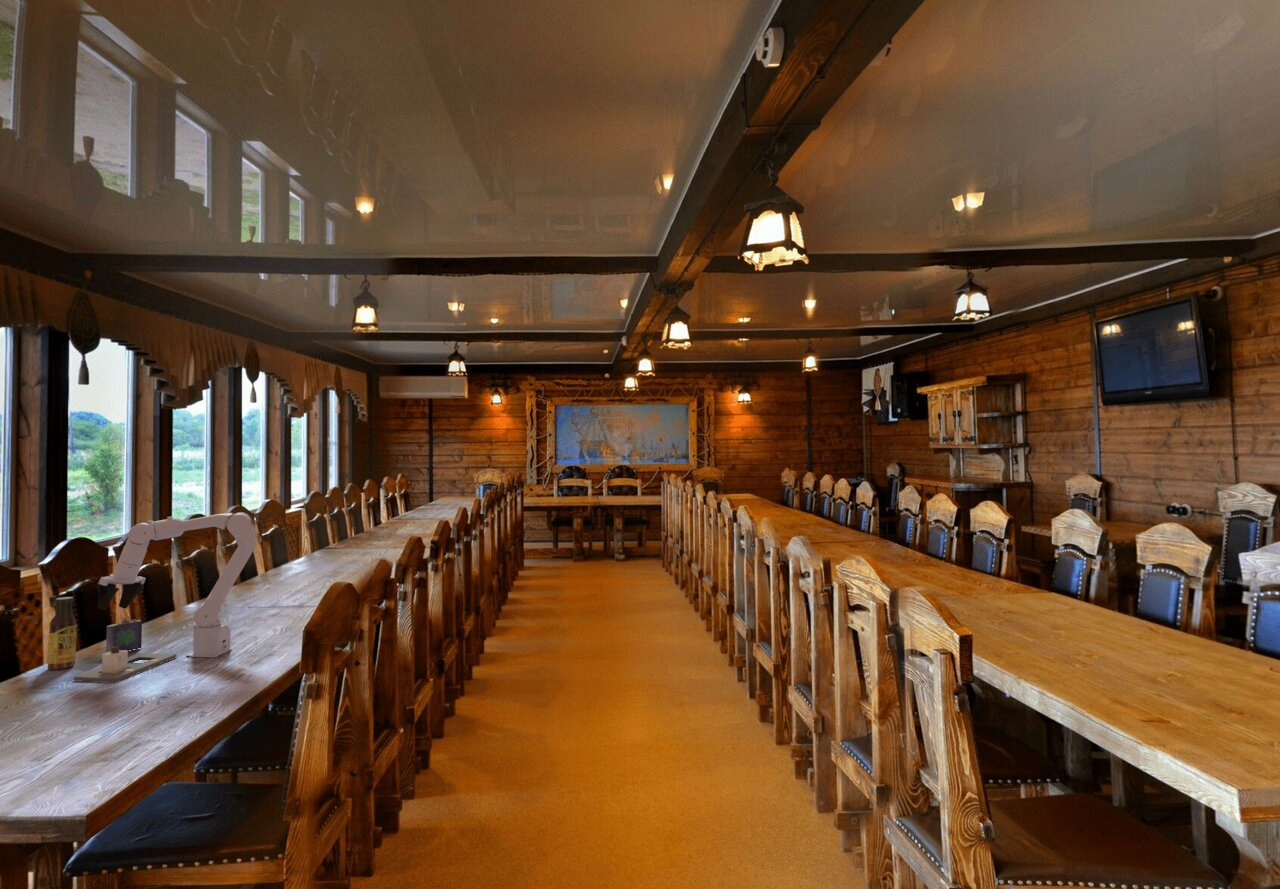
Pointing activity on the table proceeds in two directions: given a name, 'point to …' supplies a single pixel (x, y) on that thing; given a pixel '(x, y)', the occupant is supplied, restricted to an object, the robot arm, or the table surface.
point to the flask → (124, 635)
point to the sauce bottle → (62, 636)
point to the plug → (114, 660)
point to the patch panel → (131, 668)
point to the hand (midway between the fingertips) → (112, 608)
